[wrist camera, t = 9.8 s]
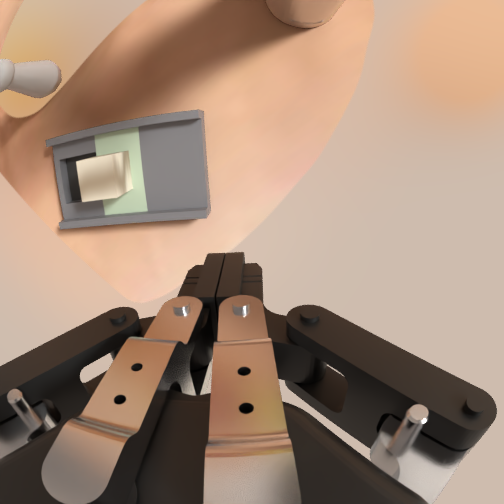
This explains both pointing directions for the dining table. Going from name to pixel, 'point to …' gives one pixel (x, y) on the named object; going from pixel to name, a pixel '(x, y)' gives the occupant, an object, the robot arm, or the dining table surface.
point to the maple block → (104, 176)
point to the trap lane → (138, 170)
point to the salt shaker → (30, 77)
